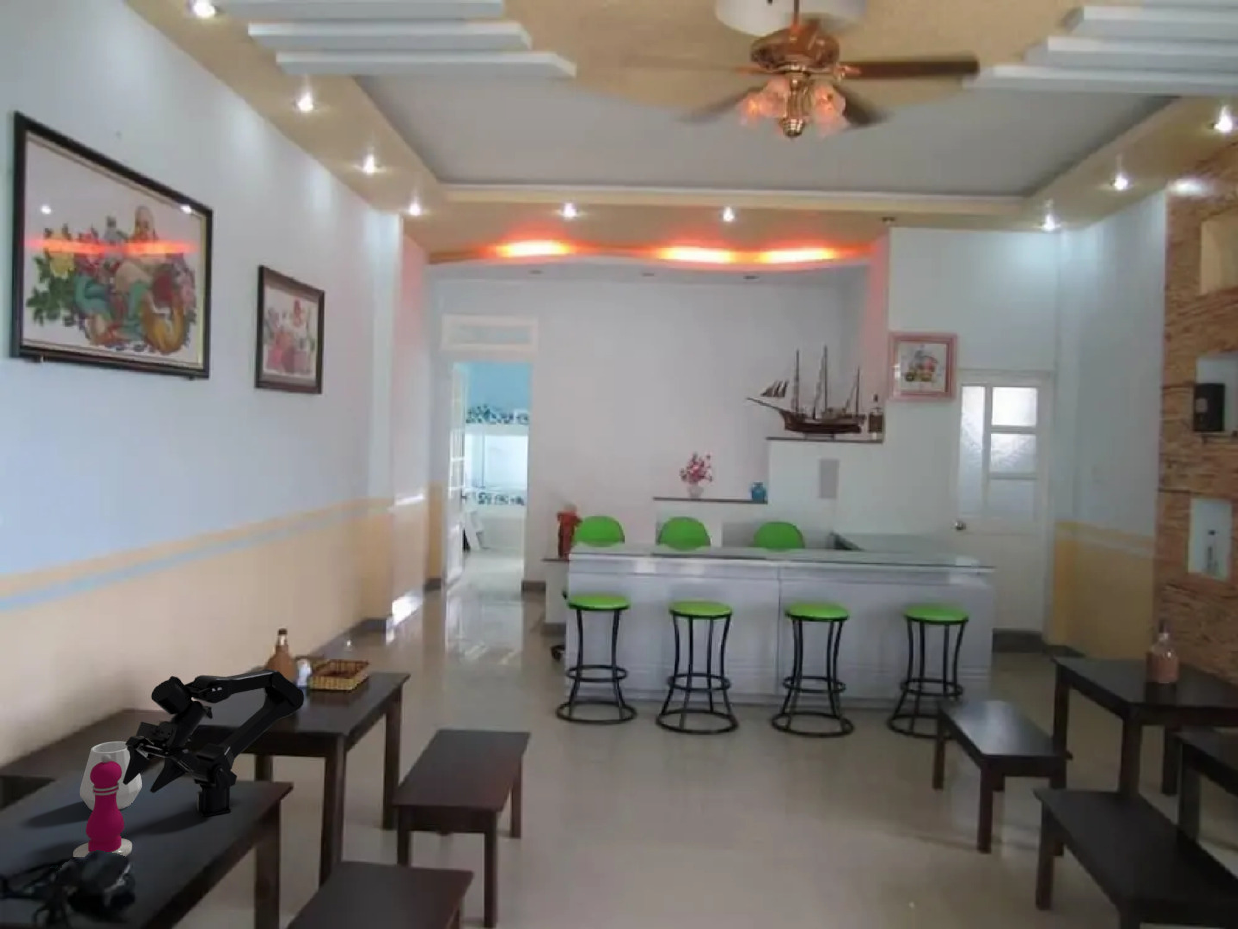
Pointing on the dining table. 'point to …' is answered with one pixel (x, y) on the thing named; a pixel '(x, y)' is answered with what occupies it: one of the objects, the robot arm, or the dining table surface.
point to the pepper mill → (105, 807)
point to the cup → (125, 792)
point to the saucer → (123, 850)
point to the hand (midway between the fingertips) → (137, 788)
